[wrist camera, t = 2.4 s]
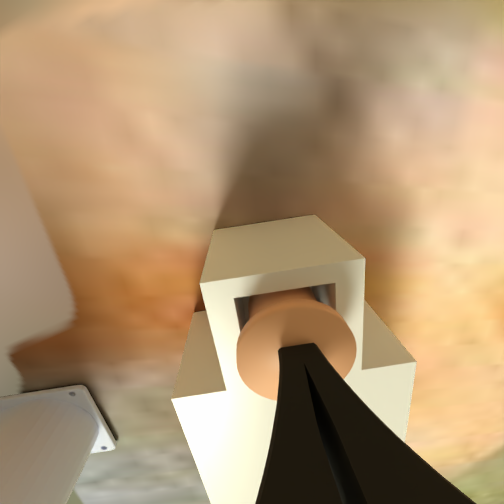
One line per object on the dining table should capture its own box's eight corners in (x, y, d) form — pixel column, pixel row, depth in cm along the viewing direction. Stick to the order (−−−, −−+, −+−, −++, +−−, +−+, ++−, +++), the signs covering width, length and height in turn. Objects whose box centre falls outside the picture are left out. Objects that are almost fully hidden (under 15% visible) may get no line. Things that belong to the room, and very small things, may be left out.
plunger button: (243, 346, 14) (246, 409, 11) (229, 272, 12) (226, 319, 9) (327, 333, 14) (355, 392, 11) (324, 257, 12) (358, 299, 9)
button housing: (229, 440, 25) (226, 544, 18) (172, 236, 16) (131, 293, 10) (352, 421, 25) (393, 519, 18) (356, 208, 16) (433, 247, 10)
